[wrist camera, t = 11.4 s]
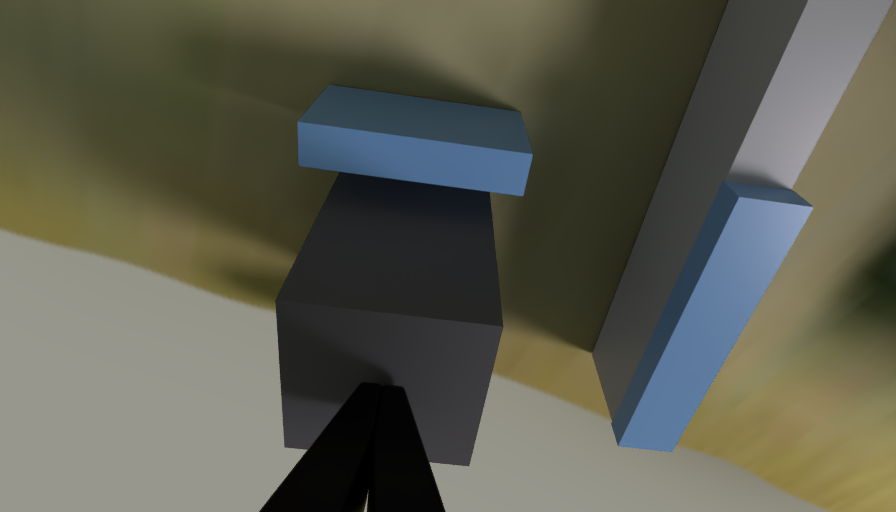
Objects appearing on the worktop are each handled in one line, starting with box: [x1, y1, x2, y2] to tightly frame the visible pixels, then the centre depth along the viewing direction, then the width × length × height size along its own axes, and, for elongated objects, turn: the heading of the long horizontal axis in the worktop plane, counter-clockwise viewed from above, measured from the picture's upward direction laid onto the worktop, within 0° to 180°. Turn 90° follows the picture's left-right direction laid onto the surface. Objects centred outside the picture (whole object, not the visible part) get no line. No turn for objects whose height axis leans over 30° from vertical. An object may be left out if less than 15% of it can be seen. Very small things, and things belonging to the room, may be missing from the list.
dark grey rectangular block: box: [276, 172, 503, 466], centre depth 13 cm, size 4×4×6 cm
